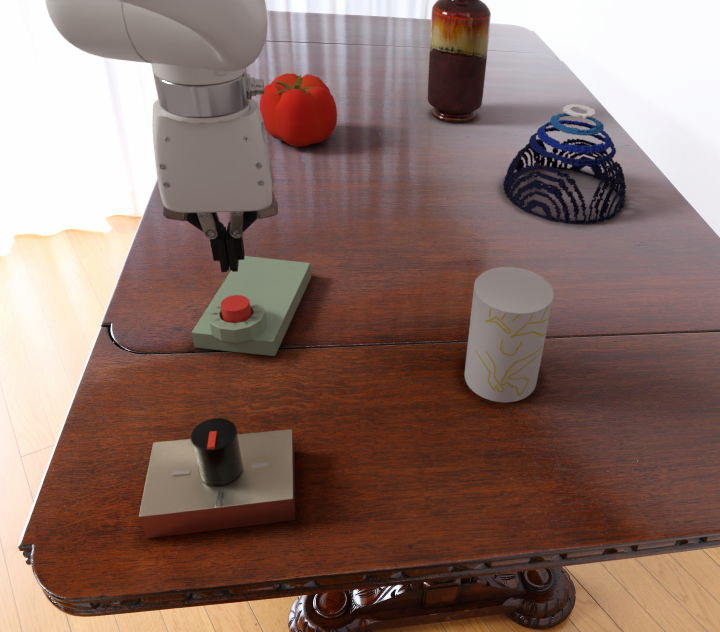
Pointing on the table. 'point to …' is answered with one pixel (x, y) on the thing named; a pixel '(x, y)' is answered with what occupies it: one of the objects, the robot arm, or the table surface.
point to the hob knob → (217, 451)
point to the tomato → (298, 109)
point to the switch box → (255, 306)
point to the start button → (235, 309)
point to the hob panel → (219, 487)
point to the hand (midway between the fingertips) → (230, 264)
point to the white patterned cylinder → (507, 333)
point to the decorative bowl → (577, 165)
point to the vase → (458, 58)
